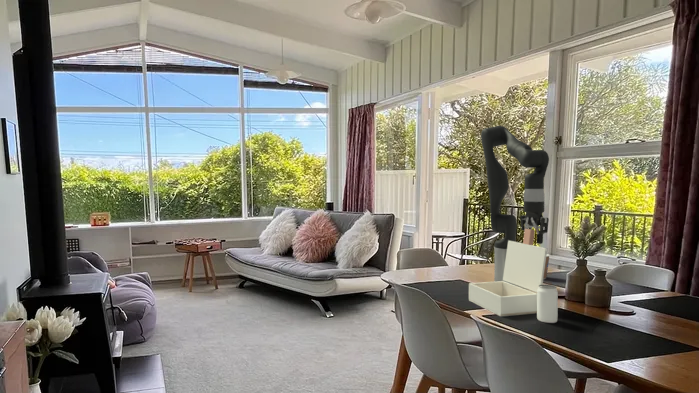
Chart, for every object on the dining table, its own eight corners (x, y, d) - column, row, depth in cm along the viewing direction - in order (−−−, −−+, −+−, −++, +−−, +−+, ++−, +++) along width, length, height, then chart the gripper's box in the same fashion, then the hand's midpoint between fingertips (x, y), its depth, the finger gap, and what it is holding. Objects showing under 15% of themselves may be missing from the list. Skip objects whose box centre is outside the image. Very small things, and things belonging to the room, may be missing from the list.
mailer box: (502, 297, 176) (502, 281, 175) (538, 313, 154) (538, 294, 154) (468, 300, 172) (468, 283, 172) (500, 316, 150) (500, 297, 150)
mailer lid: (502, 280, 176) (506, 280, 176) (539, 293, 154) (543, 293, 154) (510, 226, 176) (514, 226, 176) (547, 232, 154) (552, 232, 155)
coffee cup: (553, 280, 207) (553, 256, 207) (532, 280, 208) (532, 256, 207) (544, 275, 218) (544, 252, 217) (524, 275, 218) (524, 252, 218)
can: (556, 318, 148) (556, 284, 148) (558, 324, 142) (559, 289, 141) (536, 316, 150) (536, 283, 150) (537, 322, 144) (538, 287, 144)
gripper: (555, 200, 159) (554, 244, 160) (530, 199, 173) (529, 240, 174) (538, 201, 158) (538, 245, 158) (514, 199, 172) (514, 240, 172)
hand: (533, 242), depth 166 cm, fingers open, 6 cm apart
